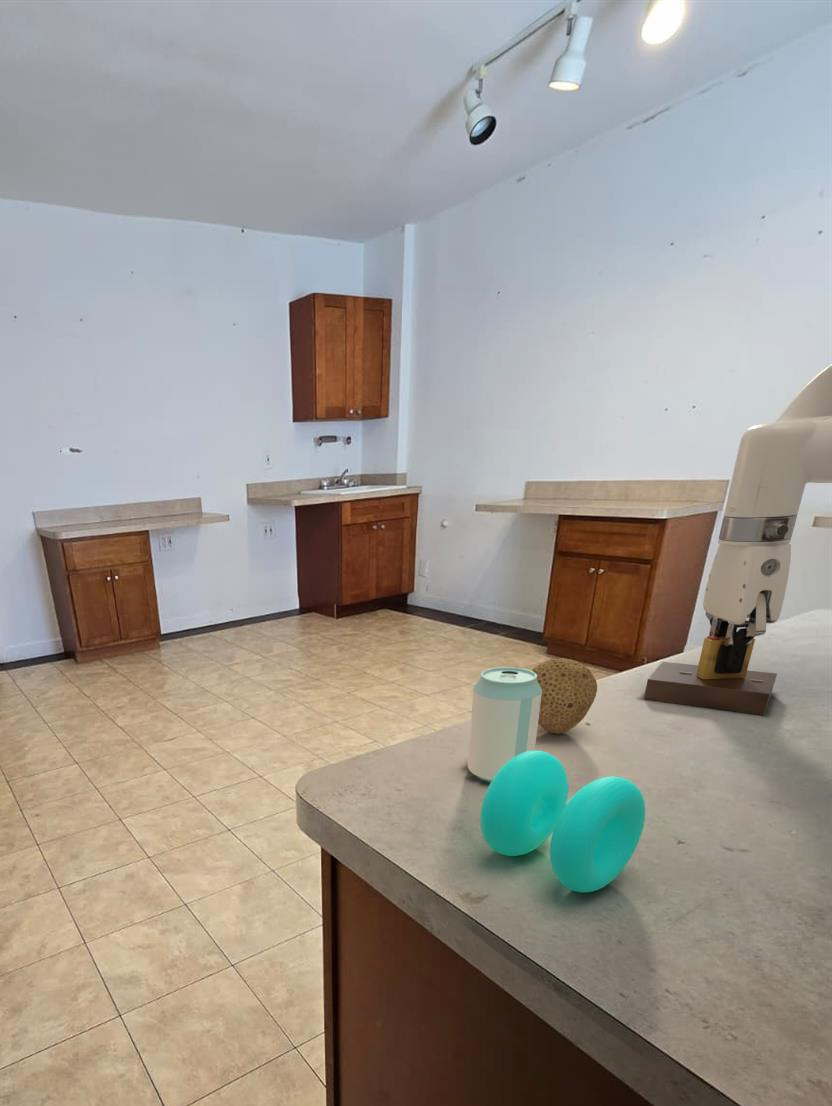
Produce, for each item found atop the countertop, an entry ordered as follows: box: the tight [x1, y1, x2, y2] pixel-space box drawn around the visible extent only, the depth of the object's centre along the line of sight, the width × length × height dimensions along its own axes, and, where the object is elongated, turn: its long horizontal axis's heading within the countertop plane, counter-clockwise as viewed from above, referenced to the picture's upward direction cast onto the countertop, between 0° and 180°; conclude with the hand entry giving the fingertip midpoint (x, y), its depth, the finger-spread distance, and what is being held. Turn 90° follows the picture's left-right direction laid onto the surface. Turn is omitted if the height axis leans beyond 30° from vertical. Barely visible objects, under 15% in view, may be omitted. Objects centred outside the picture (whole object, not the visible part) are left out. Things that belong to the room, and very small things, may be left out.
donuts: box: [479, 749, 646, 893], centre depth 55 cm, size 10×10×10 cm
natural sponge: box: [530, 657, 598, 735], centre depth 82 cm, size 9×9×10 cm
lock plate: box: [643, 661, 778, 716], centre depth 91 cm, size 14×10×3 cm
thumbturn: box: [696, 635, 756, 679], centre depth 88 cm, size 6×2×6 cm, turn 84°
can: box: [467, 666, 542, 783], centre depth 72 cm, size 7×7×12 cm
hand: (722, 669), depth 89 cm, fingers closed on thumbturn, 2 cm apart
